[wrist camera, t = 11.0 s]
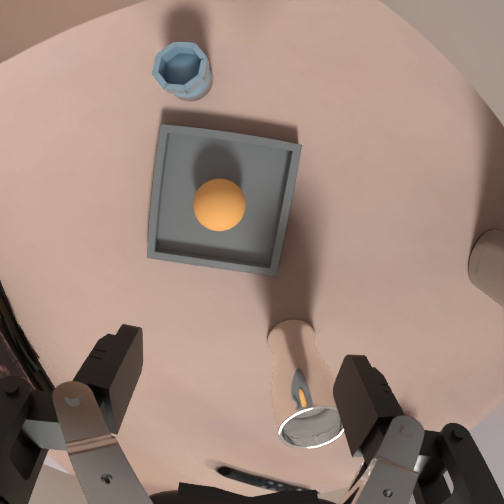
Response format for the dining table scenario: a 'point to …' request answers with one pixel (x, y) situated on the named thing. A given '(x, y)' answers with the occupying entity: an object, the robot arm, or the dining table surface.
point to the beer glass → (301, 388)
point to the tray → (230, 168)
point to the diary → (18, 351)
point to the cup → (183, 71)
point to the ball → (219, 204)
